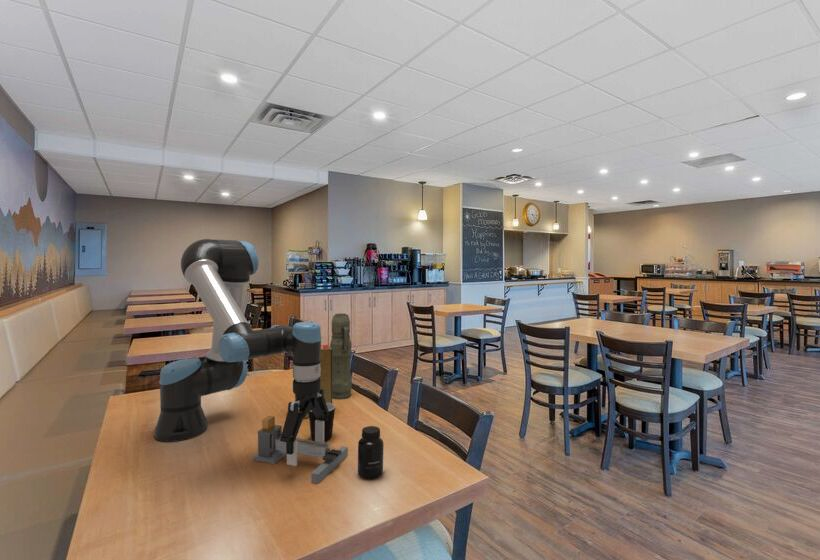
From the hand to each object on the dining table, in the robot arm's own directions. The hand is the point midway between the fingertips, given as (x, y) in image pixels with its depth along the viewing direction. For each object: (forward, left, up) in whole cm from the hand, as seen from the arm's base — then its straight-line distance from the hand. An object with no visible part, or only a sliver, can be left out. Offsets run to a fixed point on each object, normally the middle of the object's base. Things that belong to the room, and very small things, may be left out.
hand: (306, 453), depth 110 cm
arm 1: (0, -2, 0) cm, 2 cm away
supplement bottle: (+19, +1, -3) cm, 20 cm away
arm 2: (0, +1, 0) cm, 1 cm away
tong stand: (-3, 0, -3) cm, 4 cm away
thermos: (-19, +54, -3) cm, 57 cm away
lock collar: (-12, 0, -1) cm, 12 cm away
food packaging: (-19, +33, -3) cm, 38 cm away
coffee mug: (-5, +17, -3) cm, 18 cm away
